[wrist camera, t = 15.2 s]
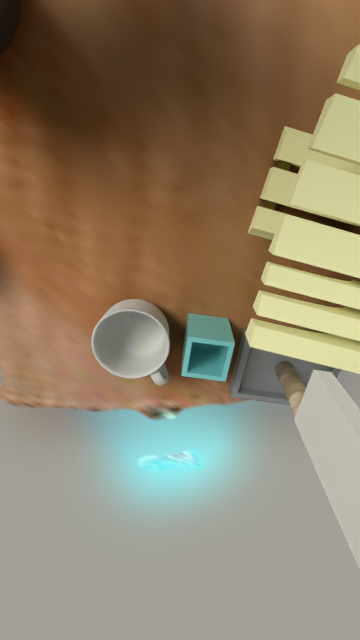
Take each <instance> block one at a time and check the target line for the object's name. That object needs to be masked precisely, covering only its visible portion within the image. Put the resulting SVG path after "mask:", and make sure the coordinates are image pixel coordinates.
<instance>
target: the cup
mask: <svg viewBox="0 0 360 640" xmlns="http://www.w3.org/2000/svg"><path fill="white" fill-rule="evenodd" d="M234 345H235V341H234V337H233V334H232V330H231V327H230V323H229V320H228V318H221V317H214V316H206V315H199V314H192V313H188V318H187V324H186V331H185V337H184V343H183V354H182V374H181V376H186V377H193V378H201V379H209V380H216V381H224V382H226V378H227V374H228V370H229V366H230V362H231V358H232V353H233V349H234Z"/></svg>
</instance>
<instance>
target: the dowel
mask: <svg viewBox="0 0 360 640" xmlns="http://www.w3.org/2000/svg"><path fill="white" fill-rule="evenodd" d="M275 373H276V375H277V377H278V379H279V381H280V384H281V386H282V388H283V390H284V393H285V395H286V397H287V399H288V401H289V404H290V405H291V408H292V410H293V412H294V414H295V416H296V413H297V411H298V408H299V406H300V403H301V400H302V398H303V395H304V393H305V390H306V388H305V386H304V385H303V383H302V381H301V379H300V378H299V376H298V374H297V372H296V371H295V369H294V367H293V365H292V364H291V363H290V362H288V361H282V362H279V363H278V364H277V365H276V366H275Z"/></svg>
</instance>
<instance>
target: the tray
mask: <svg viewBox="0 0 360 640" xmlns="http://www.w3.org/2000/svg"><path fill="white" fill-rule="evenodd" d="M246 330H247V328H244V329H243V333H242V337H241V341H240V345H239V349H238V353H237V357H236V361H235V365H234V369H233V373H232V377H231V381H230V385H229V391H230V396H231V397H233V398H241V399H248V400H256V401H264V402H272V403H280V404H287V405H290V404H289V401H288V399H287V397H286V395H285V393H284V390H283V388H282V386H281V384H280V381H279V379H278V377H277V375H276V373H275V366H276V365H277V364H278V363H279V362H282V361H288V362H290V363H291V364H292V365H293V367H294V369H295V371H296V372H297V374H298V376H299V378H300V379H301V381H302V383H303V385H304V386H305V388H306V387H307V385H308V382H309V380H310V377H311V374H312V372H313V370H320V371H327V372H332V373H333V375H334V376H335V377H336V378H337V375H338V373H339V371H340V369H338V368H333V367H329V366H325V365H321V364H317V363H313V362H309V361H305V360H301V359H297V358H293V357H289V356H285V355H281V354H277V353H273V352H269V351H265V350H261V349H257V348H253V347H250V346H249V343H248V340H247V338H246V335H245V332H246Z"/></svg>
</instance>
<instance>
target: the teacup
mask: <svg viewBox="0 0 360 640" xmlns="http://www.w3.org/2000/svg"><path fill="white" fill-rule="evenodd" d="M91 344H92V350H93V353H94V356H95V358H96V359H97V361H98V362H99V364H100V365H101V366H102V367H103V368H105V369H106V370H107V371H108V372H110V373H112V374H114V375H116V376H119V377H123V378H131V379H133V378H140V377H144V376H148V375H150V376H151V378H152V380H153V381H154V382H155V383H156V384H157V385H159V386H162V385H164V384H166V383H167V382H168V380H169V375H168V371H167V369H166V366H165V364H164V362H165V361H166V359H167V357H168V354H169V351H170V340H169V326H168V323H167V320H166V318H165V316H164V314H163V313H162V312H161V310H160V309H159V308H157V307H156V306H155V305H153V304H152V303H150V302H148V301H145V300H140V299H128V300H124V301H121V302H119V303H117V304H115V305H114V306H112V307H111V308H110V309H109V310H108V311H107V312H106V313H105V315H104V316H103V317H102V319H101V320H100V321H99V322H98V323H97V325H96V326H95V328H94V331H93V334H92V340H91Z"/></svg>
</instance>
